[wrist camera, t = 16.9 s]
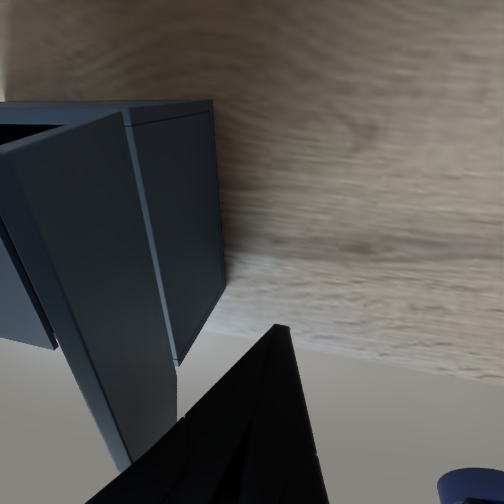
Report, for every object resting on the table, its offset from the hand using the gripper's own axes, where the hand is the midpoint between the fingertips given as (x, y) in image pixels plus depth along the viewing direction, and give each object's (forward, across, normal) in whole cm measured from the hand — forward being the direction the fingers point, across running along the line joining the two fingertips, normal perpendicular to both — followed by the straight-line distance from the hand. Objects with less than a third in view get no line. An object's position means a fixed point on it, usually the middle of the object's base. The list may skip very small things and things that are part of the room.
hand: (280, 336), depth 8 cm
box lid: (-1, +4, 0) cm, 4 cm away
